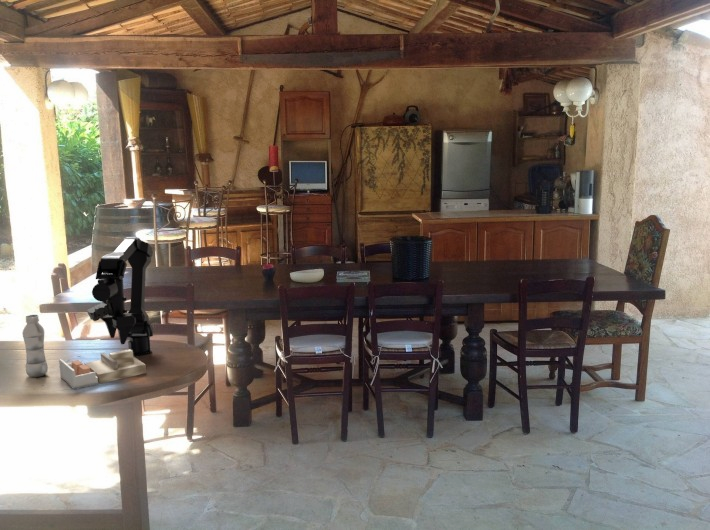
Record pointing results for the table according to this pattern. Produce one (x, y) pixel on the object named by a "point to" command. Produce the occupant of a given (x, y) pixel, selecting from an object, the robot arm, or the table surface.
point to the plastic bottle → (34, 347)
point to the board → (123, 370)
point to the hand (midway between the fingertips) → (117, 340)
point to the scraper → (117, 358)
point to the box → (73, 380)
